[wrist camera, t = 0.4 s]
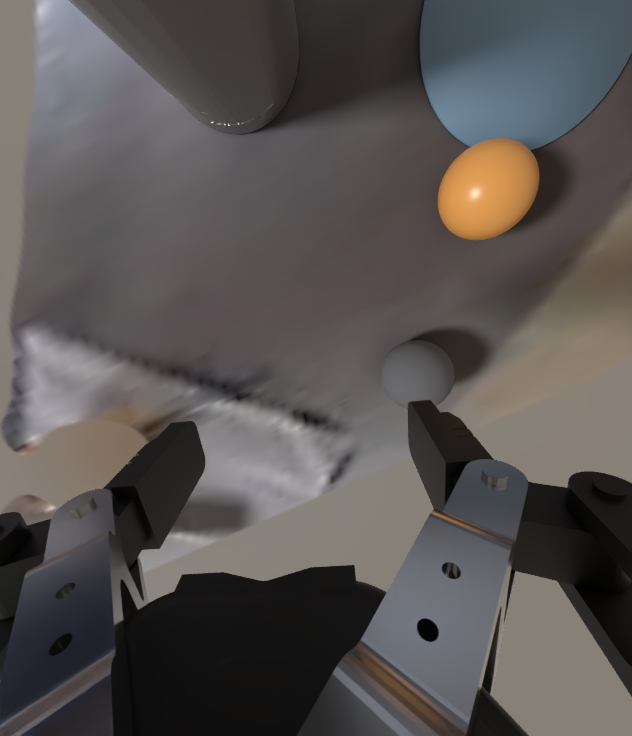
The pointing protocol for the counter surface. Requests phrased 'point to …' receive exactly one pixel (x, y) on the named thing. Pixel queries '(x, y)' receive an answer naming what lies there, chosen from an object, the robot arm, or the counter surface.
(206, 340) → the counter surface
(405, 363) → the cue ball
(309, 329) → the counter surface
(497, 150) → the object ball
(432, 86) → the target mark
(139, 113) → the counter surface
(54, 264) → the counter surface
